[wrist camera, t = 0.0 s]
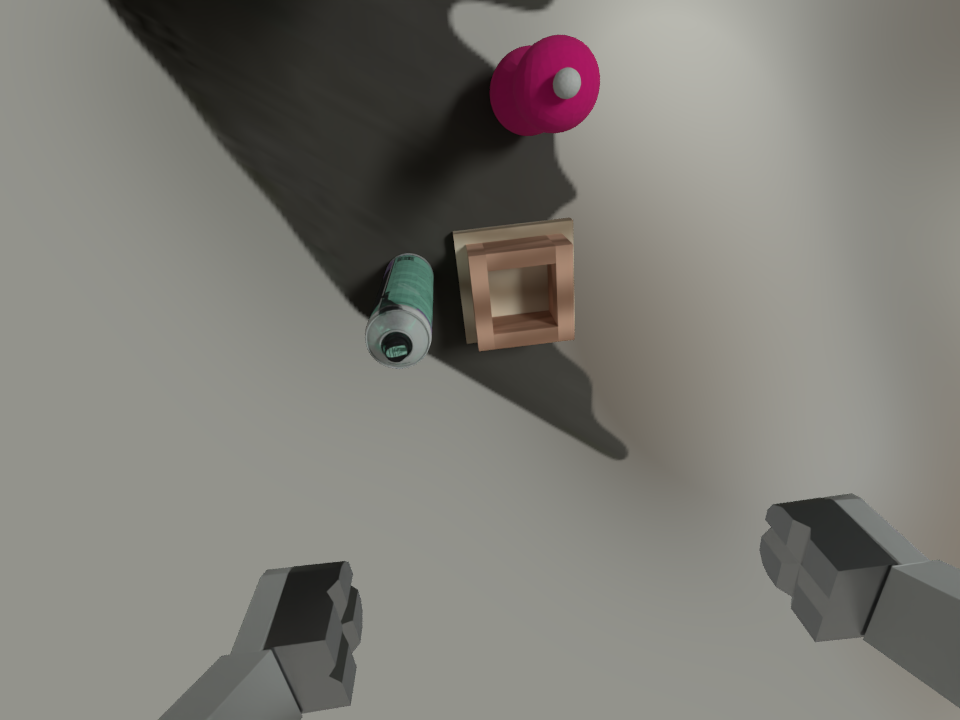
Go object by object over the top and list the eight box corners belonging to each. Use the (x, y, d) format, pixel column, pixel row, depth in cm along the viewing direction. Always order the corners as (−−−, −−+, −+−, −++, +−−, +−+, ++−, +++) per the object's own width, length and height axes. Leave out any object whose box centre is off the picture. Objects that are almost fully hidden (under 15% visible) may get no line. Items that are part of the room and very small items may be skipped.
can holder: (452, 231, 54) (454, 245, 48) (569, 217, 54) (585, 230, 48) (466, 338, 60) (468, 362, 54) (571, 325, 60) (585, 348, 54)
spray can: (375, 273, 56) (344, 349, 38) (412, 243, 54) (398, 306, 36) (407, 308, 58) (393, 396, 40) (443, 280, 56) (445, 357, 39)
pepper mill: (558, 131, 50) (624, 140, 32) (488, 137, 50) (515, 150, 32) (558, 47, 47) (630, 7, 29) (483, 54, 47) (509, 17, 29)
